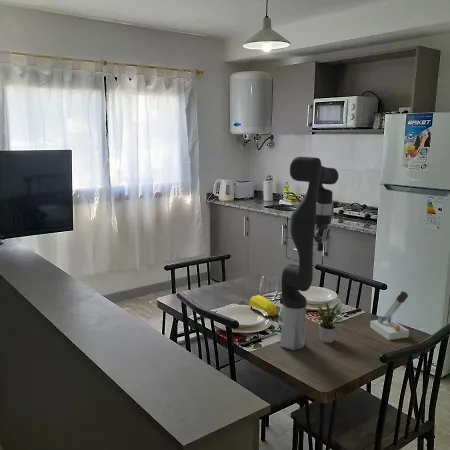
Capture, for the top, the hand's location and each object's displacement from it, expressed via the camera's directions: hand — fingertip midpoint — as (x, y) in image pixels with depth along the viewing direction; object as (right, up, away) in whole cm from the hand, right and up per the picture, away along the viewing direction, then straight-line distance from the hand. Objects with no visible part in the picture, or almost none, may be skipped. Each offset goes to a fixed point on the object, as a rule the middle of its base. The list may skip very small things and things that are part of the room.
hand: (320, 250), depth 206 cm
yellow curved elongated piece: (-25, -30, +12) cm, 41 cm away
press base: (+28, -35, -8) cm, 45 cm away
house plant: (+1, -36, -16) cm, 40 cm away
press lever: (+27, -30, -6) cm, 41 cm away
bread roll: (-10, -27, +27) cm, 40 cm away
